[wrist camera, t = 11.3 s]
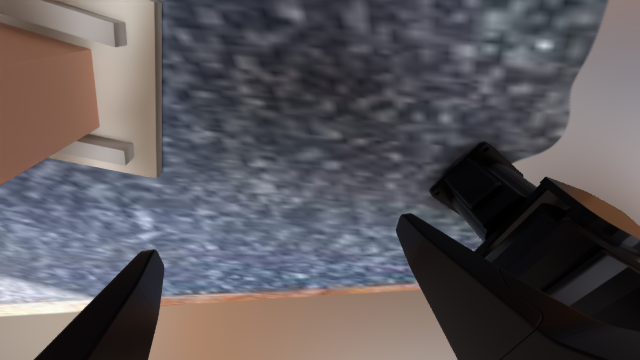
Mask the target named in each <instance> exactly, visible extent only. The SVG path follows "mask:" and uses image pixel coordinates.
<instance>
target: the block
mask: <svg viewBox="0 0 640 360" xmlns="http://www.w3.org/2000/svg"><path fill="white" fill-rule="evenodd" d="M99 127H100V124H99V115H98V106H97V97H96V88H95V80H94V71H93V62H92V53H91V49H88V48H84V47H81V46H78V45H74V44H71V43H68V42H64V41H61V40H58V39H54V38H51V37H48V36H45V35H41V34H38V33H35V32H31V31H28V30H25V29H21V28H18V27H15V26H11V25H8V24H5V23H1V22H0V185H2V184H4V183H6V182H7V181H9V180H11V179H12V178H14V177H16V176H17V175H19V174H21V173H22V172H24V171H26V170H28V169H29V168H31V167H33V166H34V165H36V164H38V163H39V162H41V161H43V160H44V159H46V158H48V157H50V156H51V155H53V154H55V153H56V152H58V151H60V150H61V149H63V148H65V147H66V146H68V145H70V144H72V143H73V142H75V141H77V140H78V139H80V138H82V137H83V136H85V135H87V134H88V133H90V132H92V131H93V130H95V129H97V128H99Z"/></svg>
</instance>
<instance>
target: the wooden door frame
mask: <svg viewBox="0 0 640 360" xmlns="http://www.w3.org/2000/svg"><path fill="white" fill-rule="evenodd" d="M0 22H1V23H5V24H8V25H11V26H15V27H18V28H21V29H25V30H28V31H31V32H35V33H38V34H41V35H45V36H48V37H51V38H54V39H58V40H61V41H64V42H68V43H71V44H74V45H78V46H81V47H84V48H88V49H91V53H92V62H93V71H94V80H95V88H96V97H97V106H98V115H99V124H100V127H99V128H97V129H95V130H93V131H92V132H90V133H88V134H87V135H85V136H83V137H82V138H80V139H78V140H77V141H75V142H73V143H72V144H70V145H68V146H66V147H65V148H63V149H61V150H60V151H58V152H56V153H55V154H53V155H51V156H50V157H48V158H52V159H57V160H62V161H68V162H73V163H78V164H83V165H89V166H94V167H99V168H104V169H110V170H115V171H120V172H125V173H131V174H136V175H141V176H146V177H151V178H157V177H158V176H159V175H160V174H161V172H162V3H161V2H159V1H156V0H0Z"/></svg>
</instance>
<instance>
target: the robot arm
mask: <svg viewBox="0 0 640 360" xmlns="http://www.w3.org/2000/svg"><path fill="white" fill-rule="evenodd" d="M485 147H486V148H485ZM484 148H485V149H484ZM483 149H484V150H483ZM540 183H541V184H540V185H539V186H538V187H536V186H535V185H533V184H532V183H530V182H528V181H527V180H526V179H525V178H523V174H522V173H521V172H519V171H518V170H517V169H516V168H515V167H514V166H513V165H512V164H511V163H510V162H509V161H508V160H506V159H505V158H504V157H503V156H502V155H501V154H500V153H499V152H498V151H497V150H496V149H495V148H493V147H492V146H491V145H490V144H488V143H487V142H484V143H481V144H480V145H479V146H478V147H477V148H476V149H475V150H473V151H472V152H471V153H470V154H469V155H468V156H467V157H466V158H465V159H464V160H463V161H461V162H460V163H459V164H458V165H457V166H456V167H455V168H454V169H453V170H452V171H450V172H449V173H448V174H447V175H446V176H445V177H444V178H443V179H442V180H441V181H440V182H438V183H437V184H436V185H435V186H434V187H433V188H432V189H431V190H430V194H431V195H432V196H433V197H434V198H436V199H437V200H439V201H440V202H442V203H443V204H445V205H446V206H448V207H449V208H451V209H452V210H454V211H455V212H457V213H458V214H460V215H461V216H462V217H463V218H464V219H465V221H466V222H467V223H468V224H469V225H470V226H471V228H472V229H473V230H474V231H475V232H476V234H477V235H478V236H479V237H480V238H481V240H482V241H483V243H482V244H481V245H480V246H479V247H478V248H477V249H476V250H475V251H472V250H471V249H469V248H467V247H466V246H464V245H462V244H461V243H459V242H457V241H456V240H454V239H453V238H451V237H449V236H448V235H446V234H444V233H443V232H441V231H439V230H438V229H436V228H434V227H433V226H431V225H430V224H428V223H426V222H425V221H423V220H421V219H420V218H418V217H416V216H415V215H413V214H411V213H408V214H402V215H401V216H400V218H399V221H398V224H397V228H396V233H397V236H398V238H399V241H400V243H401V246H402V248H403V251H404V254H405V256H406V259H407V261H408V264H409V266H410V268H411V270H412V272H413V274H414V276H415V278H416V280H417V282H418V284H419V286H420V288H421V290H422V291H423V293H424V295H425V297H426V299H427V301H428V303H429V305H430V307H431V308H432V311H433V313H434V314H435V317H436V319H437V320H438V322H439V324H440V326H441V328H442V330H443V332H444V334H445V336H446V338H447V340H448V342H449V343H450V346H451V347H452V349H453V351H454V353H455V355H456V357H457V359H458V360H640V226H639V225H637V224H636V223H635V222H634V221H633V220H632V219H631V218H630V217H629V216H627V215H626V214H625V213H624V212H622V211H621V210H619V209H617V208H615V207H614V206H612V205H610V204H608V203H606V202H605V201H603V200H601V199H599V198H597V197H596V196H594V195H592V194H590V193H588V192H586V191H583V190H581V189H578V188H575V187H572V186H570V185H567V184H565V183H562V182H559V181H557V180H554V179H551V178H548V177H545V178H544V179H543V180H542V181H541V182H540ZM436 191H437V192H436ZM435 192H436V193H435ZM163 277H164V264H163V262H162V260H161V258H160V256H159V254H158V252H157V251H156V250H154V249H153V250H145V251H141V252H140V253H139V254H138V255H137V256H136V257H135V258H134V259H133V260H132V261H131V262H130V263H129V264H128V265H127V266H126V267H125V268H124V269H123V270H122V271H121V272H120V273H119V274H118V275H117V276H116V277H115V278H114V279H113V280H112V281H111V282H110V283H109V284H108V285H107V286H106V287H105V288H104V289H103V290H102V291H101V292H100V293H99V294H98V295H97V296H96V297H95V298H94V299H93V300H92V301H91V302H90V303H89V304H88V305H87V306H86V307H85V308H84V309H83V310H82V311H81V312H80V313H79V315H77V316H76V317H75V318H74V319H73V321H72V322H70V323H69V325H68V326H67V327H66V328H65V329H64V330H63V331H62V332H61V333H60V334H59V335H58V336H57V337H56V338H55V339H54V340H53V341H52V342H51V343H50V344H49V345H48V346H47V347H46V348H45V349H44V350H43V351H42V352H41V353H40V354H39V355H38V356H37V357H36V358H35V359H34V360H148V357H149V353H150V349H151V345H152V341H153V337H154V333H155V329H156V325H157V320H158V316H159V309H160V301H161V293H162V285H163Z"/></svg>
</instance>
